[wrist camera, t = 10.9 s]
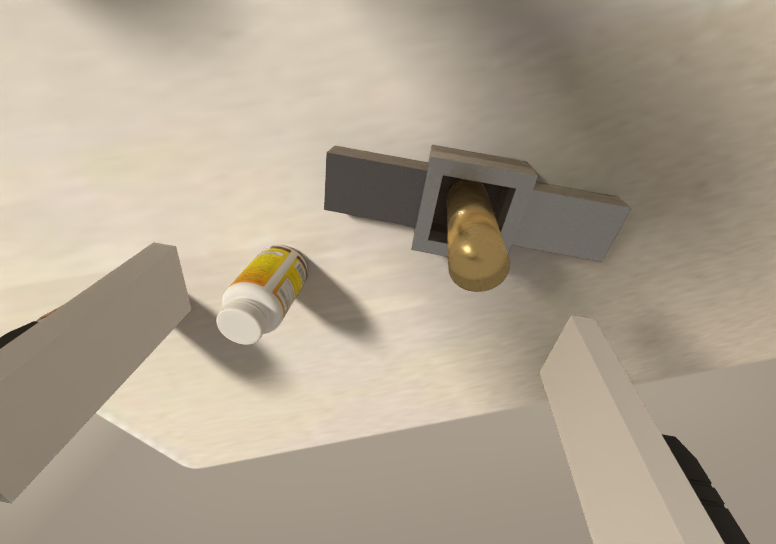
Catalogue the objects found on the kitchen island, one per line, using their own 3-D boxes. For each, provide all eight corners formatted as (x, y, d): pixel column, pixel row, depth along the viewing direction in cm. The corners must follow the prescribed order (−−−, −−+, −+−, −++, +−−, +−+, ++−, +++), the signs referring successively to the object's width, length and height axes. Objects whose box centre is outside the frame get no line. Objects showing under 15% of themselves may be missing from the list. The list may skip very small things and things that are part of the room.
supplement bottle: (250, 262, 38) (194, 323, 29) (279, 232, 36) (227, 288, 27) (290, 295, 40) (247, 361, 31) (320, 268, 37) (283, 332, 29)
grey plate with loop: (330, 214, 34) (318, 232, 30) (335, 127, 29) (322, 136, 26) (583, 262, 33) (599, 285, 29) (627, 179, 28) (651, 196, 25)
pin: (452, 175, 30) (456, 235, 20) (493, 182, 30) (518, 247, 20) (442, 213, 32) (442, 285, 22) (481, 220, 32) (498, 296, 22)
